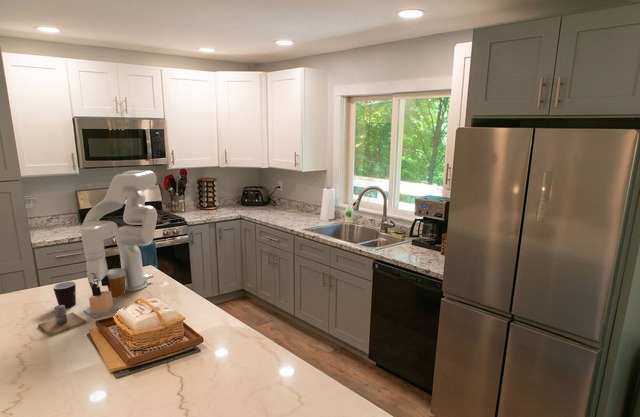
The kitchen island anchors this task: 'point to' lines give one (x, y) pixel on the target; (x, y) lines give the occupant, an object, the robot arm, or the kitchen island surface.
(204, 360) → the kitchen island surface
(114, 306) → the mat
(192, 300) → the kitchen island surface
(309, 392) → the kitchen island surface
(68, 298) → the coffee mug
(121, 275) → the disposable coffee cup
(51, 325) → the post base
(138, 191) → the robot arm
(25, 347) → the kitchen island surface
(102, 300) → the coin bank
